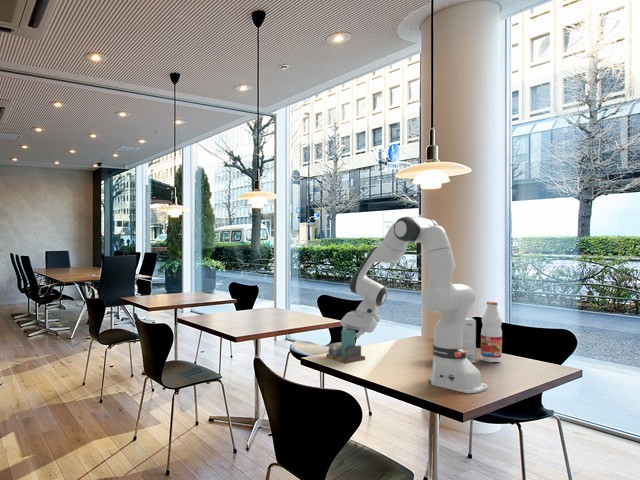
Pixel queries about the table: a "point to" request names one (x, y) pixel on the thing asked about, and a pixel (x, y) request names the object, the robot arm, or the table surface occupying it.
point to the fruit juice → (491, 334)
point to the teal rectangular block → (347, 340)
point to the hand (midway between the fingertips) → (349, 335)
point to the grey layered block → (350, 353)
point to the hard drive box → (470, 339)
